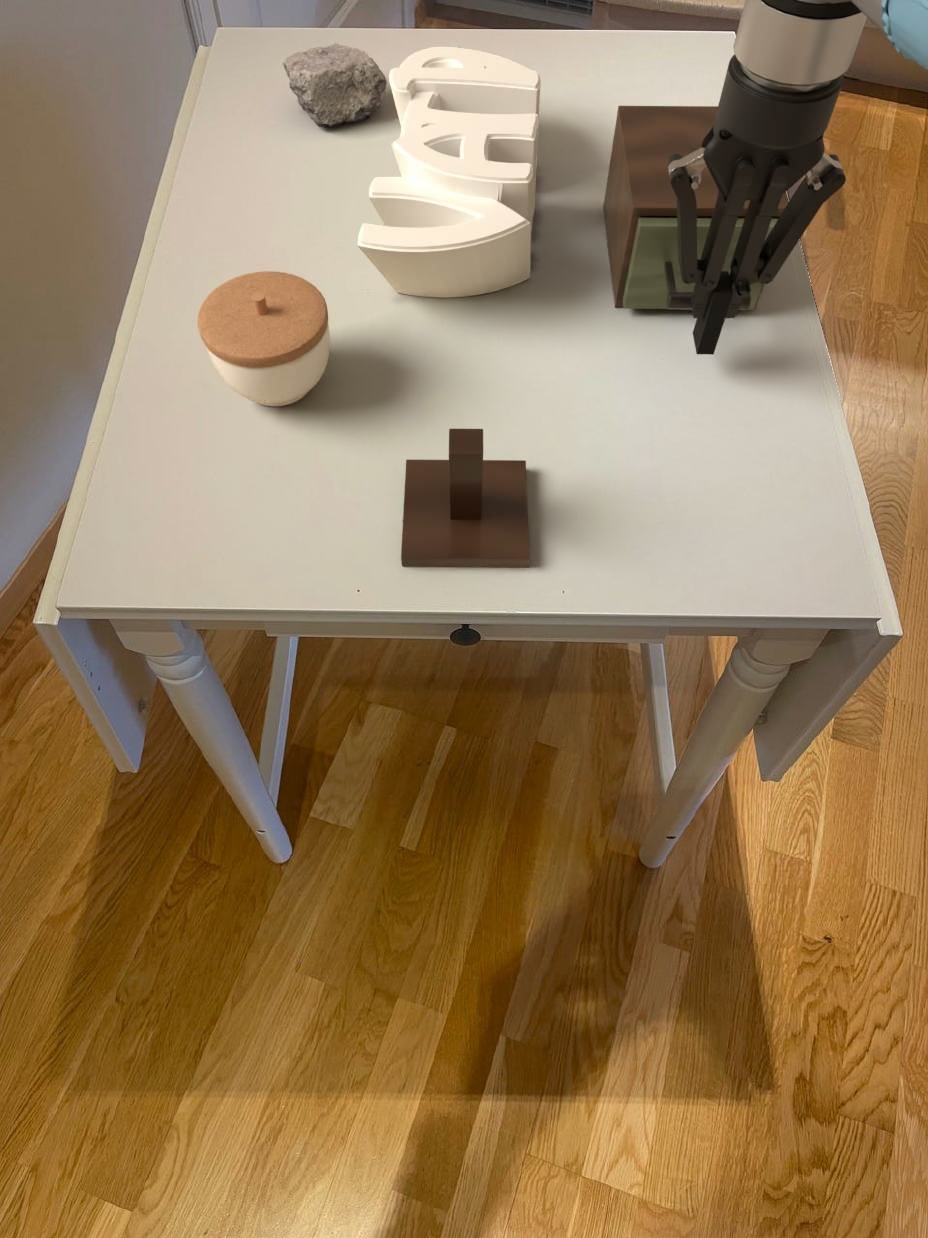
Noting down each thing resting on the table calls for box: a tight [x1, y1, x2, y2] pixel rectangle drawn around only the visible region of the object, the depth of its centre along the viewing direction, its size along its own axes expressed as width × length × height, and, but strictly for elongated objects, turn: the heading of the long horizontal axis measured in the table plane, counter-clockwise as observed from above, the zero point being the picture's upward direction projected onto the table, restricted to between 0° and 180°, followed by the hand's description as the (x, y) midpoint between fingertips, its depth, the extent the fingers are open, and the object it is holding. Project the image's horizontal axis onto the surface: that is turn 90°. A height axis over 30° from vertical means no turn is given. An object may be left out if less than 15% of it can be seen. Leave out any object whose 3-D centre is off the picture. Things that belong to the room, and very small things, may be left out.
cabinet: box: [602, 105, 790, 310], centre depth 84 cm, size 16×14×11 cm
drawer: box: [623, 216, 778, 311], centre depth 82 cm, size 20×12×9 cm, turn 0°
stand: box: [400, 428, 530, 568], centre depth 68 cm, size 10×10×9 cm
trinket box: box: [197, 270, 331, 407], centre depth 75 cm, size 11×11×9 cm
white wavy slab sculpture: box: [357, 46, 542, 298], centre depth 87 cm, size 35×16×10 cm, turn 172°
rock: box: [282, 42, 388, 128], centre depth 99 cm, size 11×8×10 cm
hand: (703, 343), depth 78 cm, fingers closed
